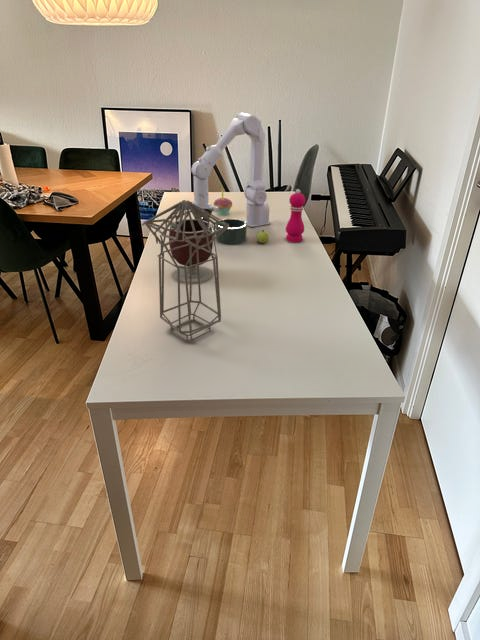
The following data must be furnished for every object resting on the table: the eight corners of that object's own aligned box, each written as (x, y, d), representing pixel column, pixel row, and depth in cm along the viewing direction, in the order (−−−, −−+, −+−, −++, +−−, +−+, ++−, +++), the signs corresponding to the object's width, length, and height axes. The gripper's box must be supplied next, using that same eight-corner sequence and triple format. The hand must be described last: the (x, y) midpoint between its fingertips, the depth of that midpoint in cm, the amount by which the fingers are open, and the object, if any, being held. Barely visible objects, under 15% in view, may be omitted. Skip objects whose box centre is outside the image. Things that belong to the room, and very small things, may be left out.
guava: (264, 239, 177) (264, 226, 175) (270, 243, 174) (271, 230, 171) (254, 241, 175) (254, 228, 173) (260, 245, 172) (261, 232, 169)
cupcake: (231, 217, 201) (232, 190, 195) (213, 216, 201) (212, 189, 195) (232, 211, 208) (232, 185, 202) (214, 210, 209) (213, 184, 202)
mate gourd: (207, 264, 156) (206, 208, 146) (218, 281, 145) (217, 221, 134) (163, 269, 152) (158, 211, 142) (170, 287, 141) (166, 226, 130)
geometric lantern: (197, 311, 128) (192, 188, 110) (232, 333, 118) (233, 202, 100) (149, 330, 119) (135, 199, 101) (183, 356, 109) (175, 216, 91)
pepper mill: (282, 241, 177) (285, 190, 166) (289, 235, 182) (292, 185, 172) (299, 244, 174) (303, 192, 163) (305, 238, 179) (310, 188, 169)
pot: (236, 232, 184) (237, 216, 181) (251, 241, 176) (252, 225, 172) (211, 236, 179) (210, 221, 176) (225, 246, 171) (225, 230, 167)
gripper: (180, 193, 177) (182, 226, 184) (212, 198, 171) (212, 232, 178) (189, 189, 182) (191, 221, 189) (221, 194, 177) (221, 227, 184)
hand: (202, 226), depth 184 cm, fingers closed on pot lid, 2 cm apart
